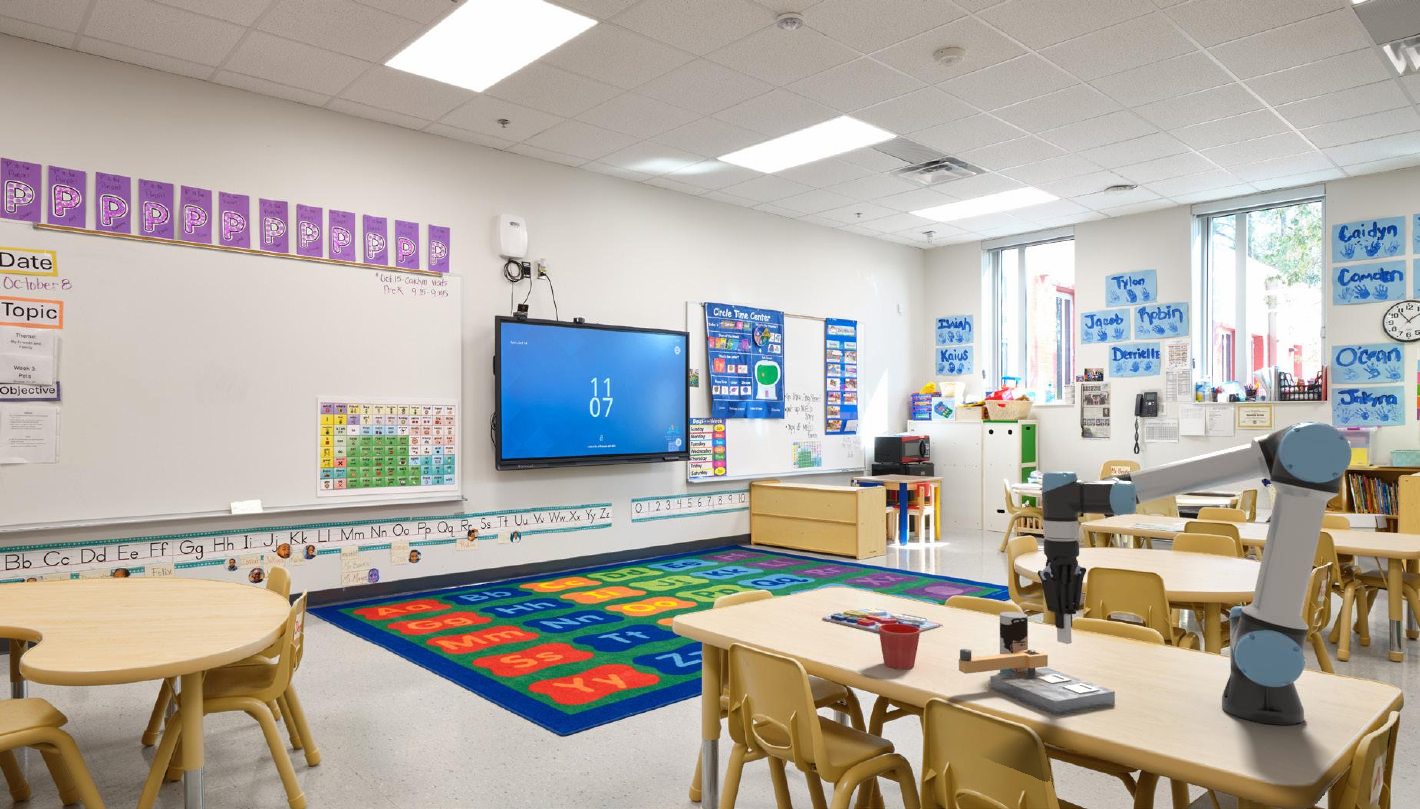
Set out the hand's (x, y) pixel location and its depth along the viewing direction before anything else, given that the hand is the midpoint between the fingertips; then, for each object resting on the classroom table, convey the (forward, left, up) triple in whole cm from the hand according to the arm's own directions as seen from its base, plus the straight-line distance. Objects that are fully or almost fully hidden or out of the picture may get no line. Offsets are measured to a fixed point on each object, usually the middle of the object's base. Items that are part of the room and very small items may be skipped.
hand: (1064, 642), depth 192 cm
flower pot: (+39, +17, -14) cm, 45 cm away
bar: (+14, +6, -9) cm, 17 cm away
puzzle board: (+80, -6, -15) cm, 82 cm away
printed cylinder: (+21, -5, -14) cm, 26 cm away
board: (+4, 0, -14) cm, 14 cm away
